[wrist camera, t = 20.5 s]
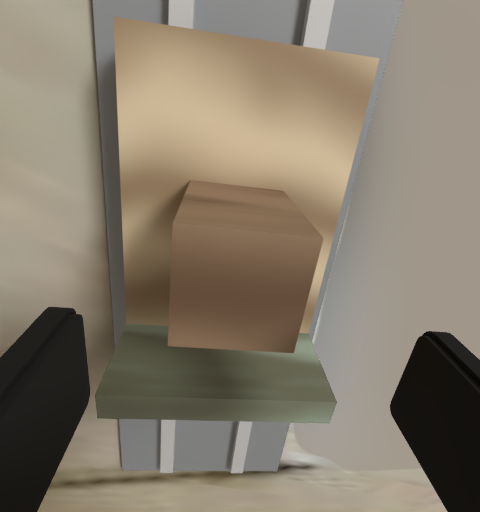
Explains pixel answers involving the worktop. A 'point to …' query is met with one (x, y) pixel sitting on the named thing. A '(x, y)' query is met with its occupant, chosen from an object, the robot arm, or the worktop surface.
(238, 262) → the walnut block
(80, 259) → the worktop surface
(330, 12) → the rail track
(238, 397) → the multicoloured piece
